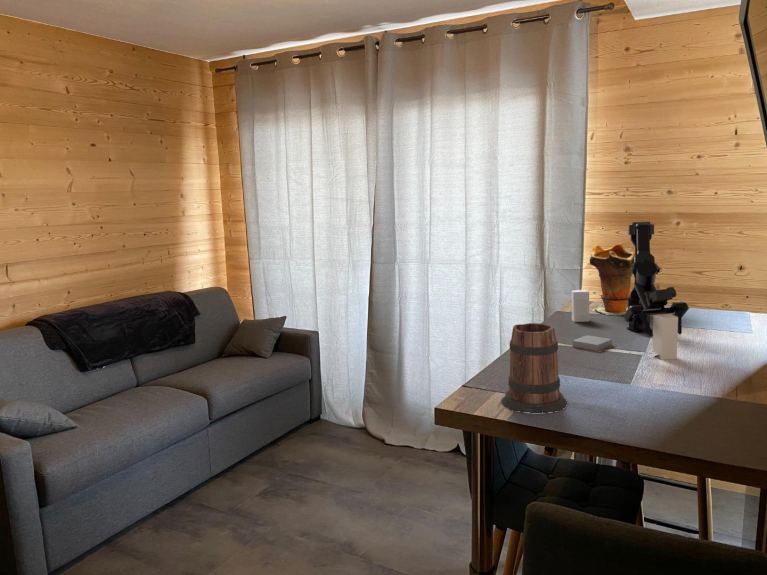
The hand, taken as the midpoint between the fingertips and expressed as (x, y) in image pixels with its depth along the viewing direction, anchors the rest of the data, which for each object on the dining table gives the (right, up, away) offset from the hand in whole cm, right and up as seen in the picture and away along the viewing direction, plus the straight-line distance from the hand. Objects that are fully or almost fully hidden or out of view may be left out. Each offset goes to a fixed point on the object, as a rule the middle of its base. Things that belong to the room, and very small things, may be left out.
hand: (666, 335), depth 186 cm
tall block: (0, -7, +2) cm, 7 cm away
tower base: (-18, -6, +14) cm, 23 cm away
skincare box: (-9, +1, +53) cm, 54 cm away
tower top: (-18, -5, +14) cm, 23 cm away
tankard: (-46, -15, -26) cm, 55 cm away
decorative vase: (+10, +5, +66) cm, 67 cm away
